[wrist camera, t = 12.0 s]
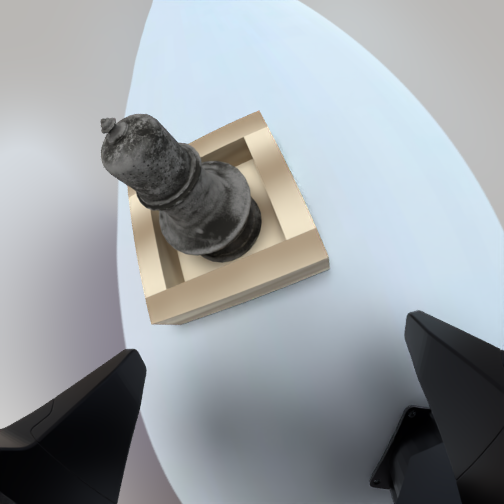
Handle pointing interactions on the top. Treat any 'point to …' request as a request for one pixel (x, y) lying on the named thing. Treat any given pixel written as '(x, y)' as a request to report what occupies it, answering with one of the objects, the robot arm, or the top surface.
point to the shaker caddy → (251, 263)
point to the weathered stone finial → (183, 189)
